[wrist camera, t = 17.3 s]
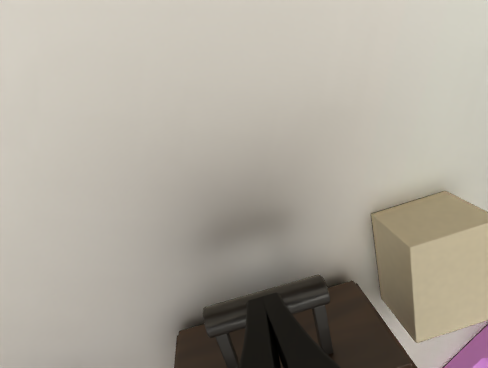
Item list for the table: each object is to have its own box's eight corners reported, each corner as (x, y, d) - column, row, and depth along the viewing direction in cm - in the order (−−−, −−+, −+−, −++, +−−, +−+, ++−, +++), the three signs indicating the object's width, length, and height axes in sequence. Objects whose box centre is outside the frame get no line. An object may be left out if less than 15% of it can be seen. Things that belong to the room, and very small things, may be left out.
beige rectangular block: (380, 298, 22) (416, 343, 19) (370, 213, 20) (409, 247, 16) (446, 277, 23) (494, 318, 19) (445, 190, 20) (501, 218, 16)
